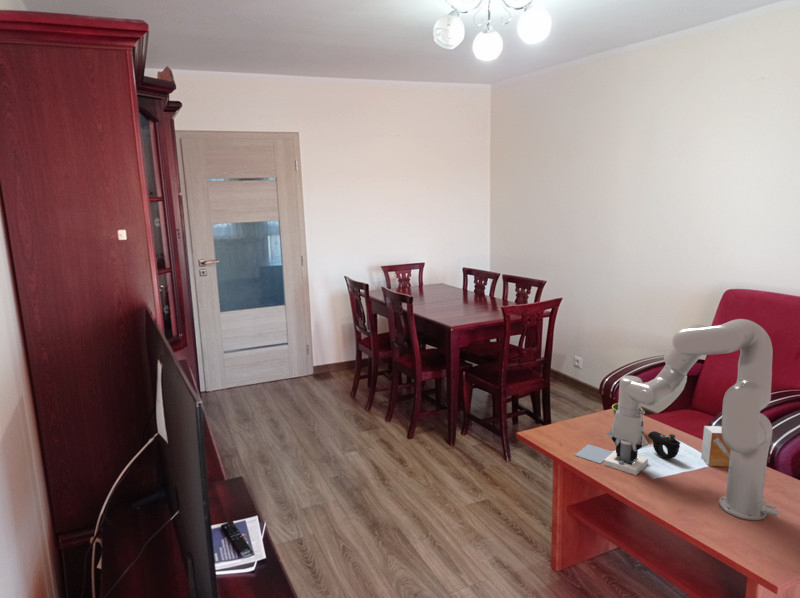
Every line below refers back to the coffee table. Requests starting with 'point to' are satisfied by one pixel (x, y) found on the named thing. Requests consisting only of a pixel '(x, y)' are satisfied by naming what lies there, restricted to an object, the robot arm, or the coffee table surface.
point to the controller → (664, 440)
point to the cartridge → (626, 451)
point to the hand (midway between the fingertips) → (626, 456)
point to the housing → (620, 465)
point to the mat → (593, 453)
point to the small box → (714, 447)
